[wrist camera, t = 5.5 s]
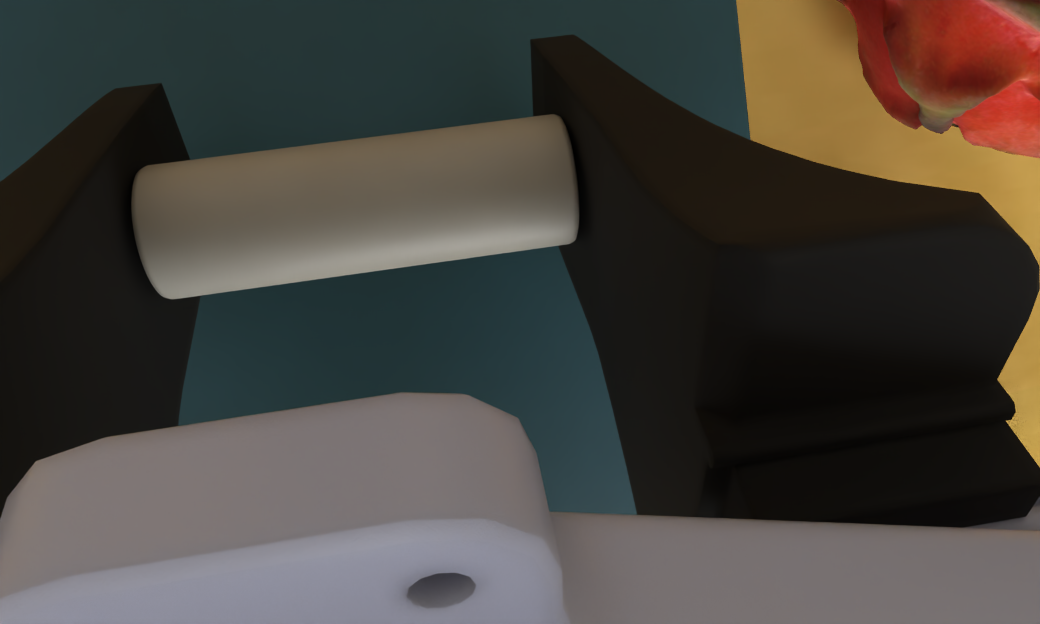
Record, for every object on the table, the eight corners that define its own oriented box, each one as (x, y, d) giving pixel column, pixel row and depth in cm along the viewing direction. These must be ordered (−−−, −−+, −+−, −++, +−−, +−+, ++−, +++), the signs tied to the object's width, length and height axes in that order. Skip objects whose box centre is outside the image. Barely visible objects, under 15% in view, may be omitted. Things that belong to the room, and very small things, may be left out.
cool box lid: (772, 493, 16) (926, 614, 11) (75, 610, 15) (-105, 803, 10) (695, -247, 14) (831, -494, 9) (-85, -176, 13) (-389, -410, 8)
